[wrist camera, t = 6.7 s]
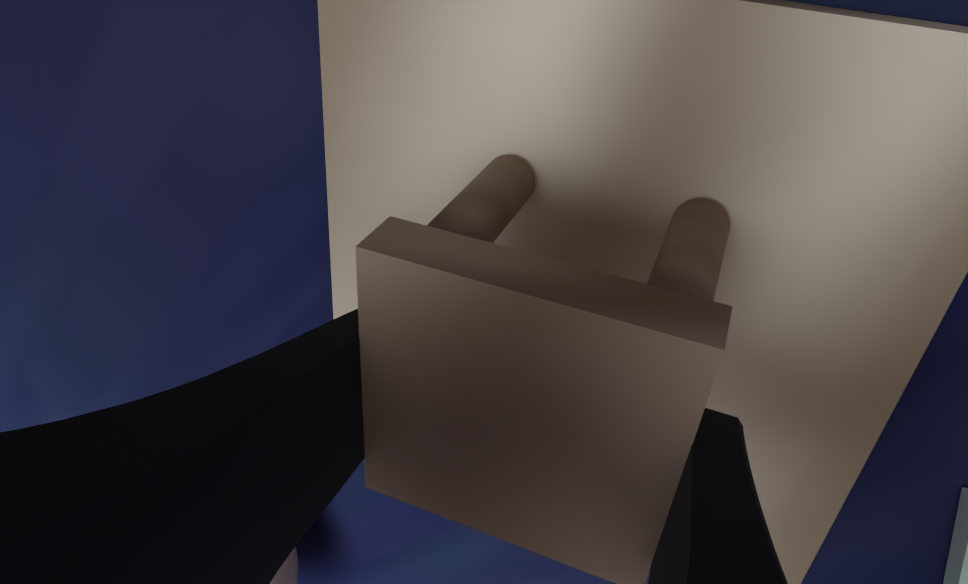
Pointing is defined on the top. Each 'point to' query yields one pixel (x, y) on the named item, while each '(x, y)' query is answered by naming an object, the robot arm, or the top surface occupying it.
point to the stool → (537, 376)
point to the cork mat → (689, 184)
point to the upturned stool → (959, 545)
